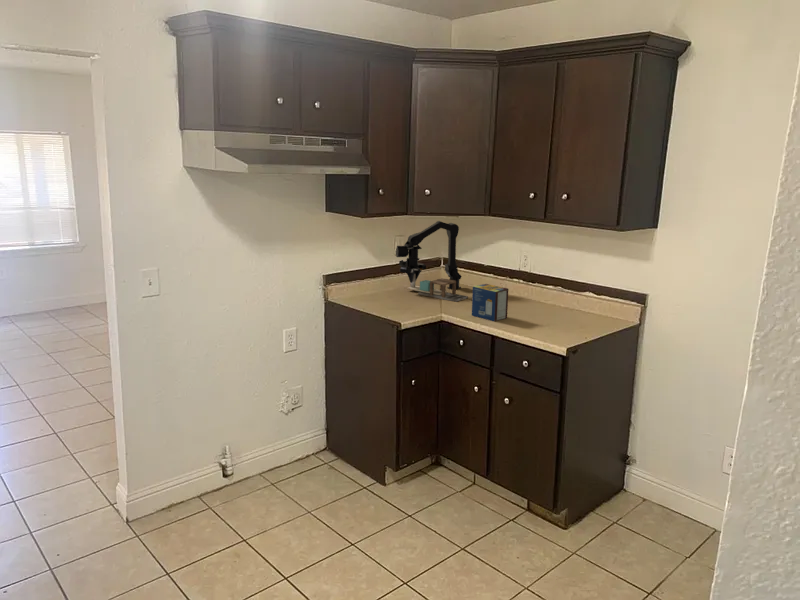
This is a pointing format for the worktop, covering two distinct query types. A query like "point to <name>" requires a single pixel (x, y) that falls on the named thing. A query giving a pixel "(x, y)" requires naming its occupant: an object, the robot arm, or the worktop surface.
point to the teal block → (425, 285)
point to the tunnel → (444, 290)
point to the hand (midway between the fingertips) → (412, 282)
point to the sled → (417, 288)
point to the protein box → (490, 302)
